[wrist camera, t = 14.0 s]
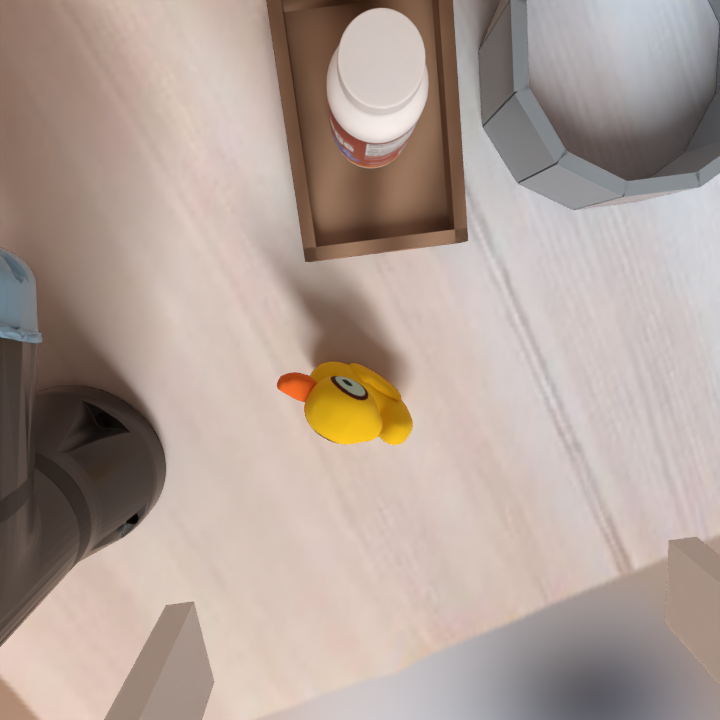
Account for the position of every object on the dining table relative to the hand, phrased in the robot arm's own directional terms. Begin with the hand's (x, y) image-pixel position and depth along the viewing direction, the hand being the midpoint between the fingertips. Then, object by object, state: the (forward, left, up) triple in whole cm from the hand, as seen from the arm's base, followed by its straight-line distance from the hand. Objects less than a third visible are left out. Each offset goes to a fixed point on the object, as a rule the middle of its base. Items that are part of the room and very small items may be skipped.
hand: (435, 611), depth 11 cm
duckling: (-2, -1, -27) cm, 27 cm away
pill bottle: (+2, +20, -26) cm, 33 cm away
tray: (+2, +20, -27) cm, 33 cm away
